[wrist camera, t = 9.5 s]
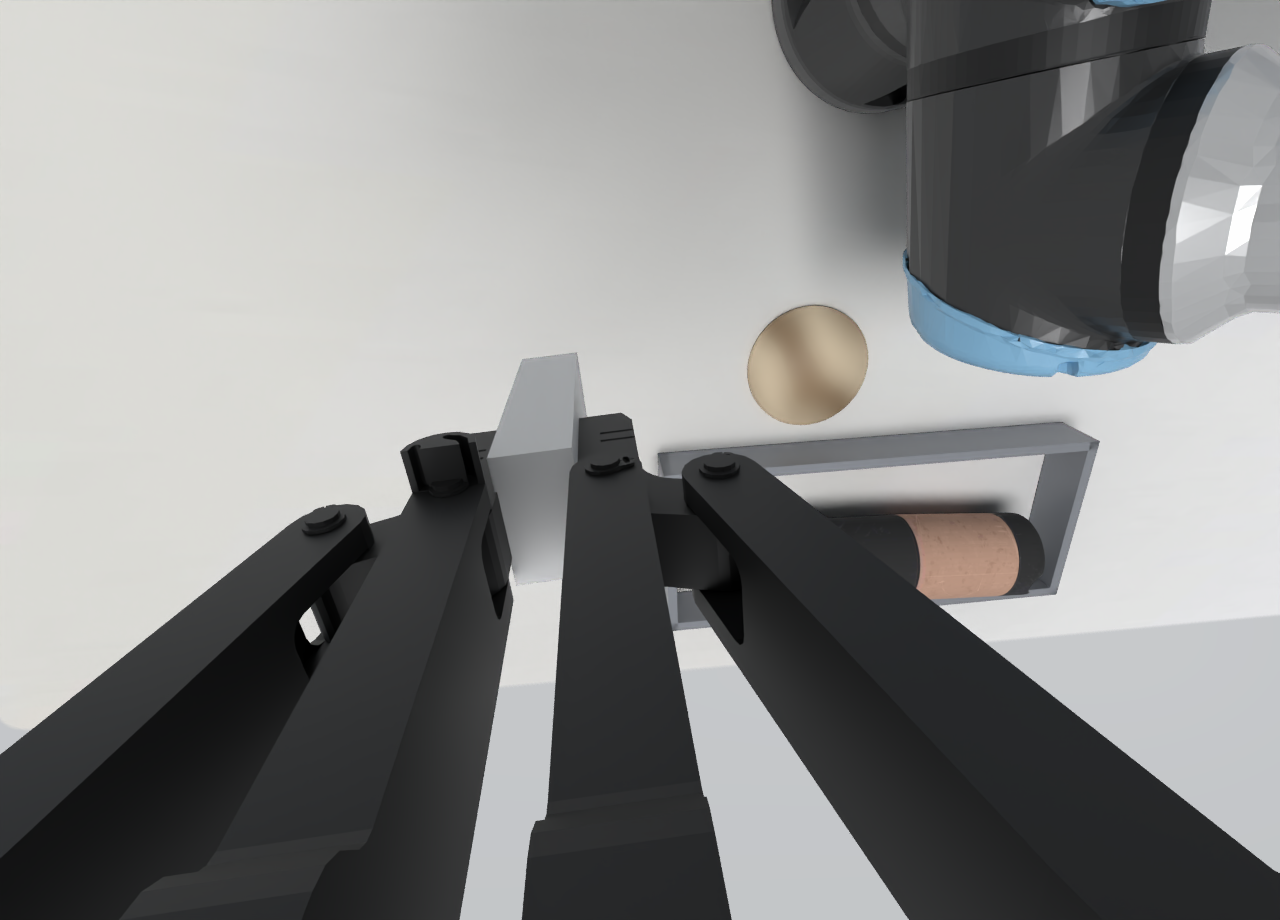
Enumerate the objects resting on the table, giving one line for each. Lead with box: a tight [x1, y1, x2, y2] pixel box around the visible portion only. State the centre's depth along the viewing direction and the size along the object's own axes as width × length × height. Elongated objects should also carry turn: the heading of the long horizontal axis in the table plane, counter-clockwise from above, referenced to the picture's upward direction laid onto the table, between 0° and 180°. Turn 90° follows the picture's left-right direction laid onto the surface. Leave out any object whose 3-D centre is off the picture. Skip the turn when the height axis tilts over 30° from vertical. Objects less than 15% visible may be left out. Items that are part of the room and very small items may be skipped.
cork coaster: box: [748, 306, 868, 425], centre depth 51 cm, size 10×10×1 cm
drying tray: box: [658, 422, 1100, 631], centre depth 56 cm, size 37×16×4 cm, turn 93°
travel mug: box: [828, 513, 1045, 599], centre depth 56 cm, size 8×8×20 cm
